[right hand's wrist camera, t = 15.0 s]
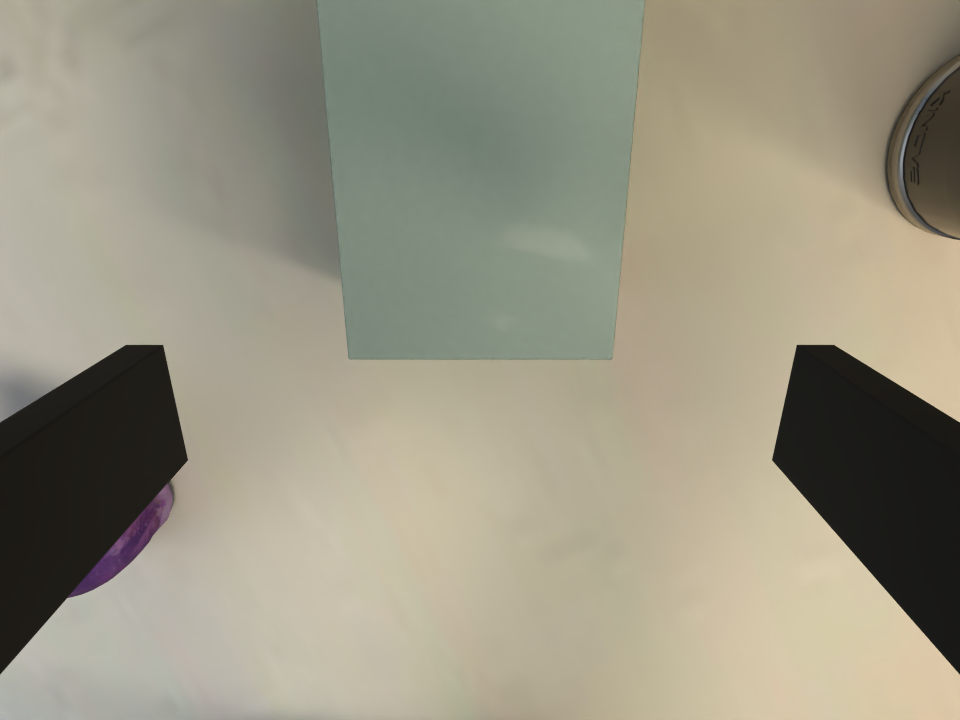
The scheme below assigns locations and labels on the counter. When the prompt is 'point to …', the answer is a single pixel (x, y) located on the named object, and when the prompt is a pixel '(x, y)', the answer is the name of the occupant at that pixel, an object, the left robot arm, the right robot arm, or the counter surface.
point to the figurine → (129, 543)
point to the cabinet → (480, 172)
